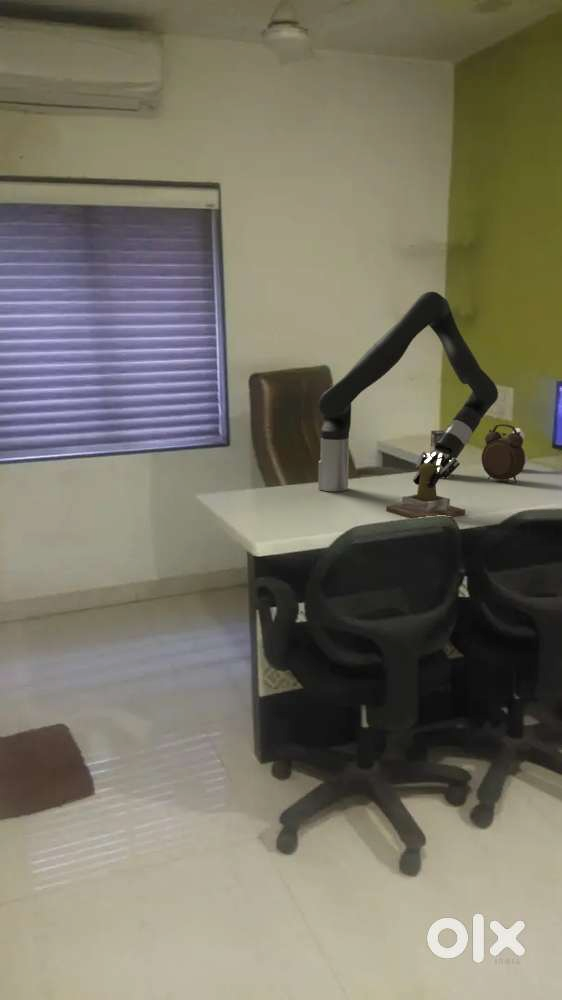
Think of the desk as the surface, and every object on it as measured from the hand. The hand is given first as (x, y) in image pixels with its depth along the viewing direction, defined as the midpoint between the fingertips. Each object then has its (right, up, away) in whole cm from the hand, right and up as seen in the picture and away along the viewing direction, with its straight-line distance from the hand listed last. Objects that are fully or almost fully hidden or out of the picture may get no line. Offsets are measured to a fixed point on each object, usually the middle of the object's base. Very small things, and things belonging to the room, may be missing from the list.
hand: (422, 484), depth 219 cm
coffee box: (+17, +4, +57) cm, 60 cm away
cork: (+2, -5, +2) cm, 6 cm away
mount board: (+1, -8, +3) cm, 9 cm away
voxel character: (+47, +6, +68) cm, 83 cm away
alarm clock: (+37, +2, +48) cm, 60 cm away
